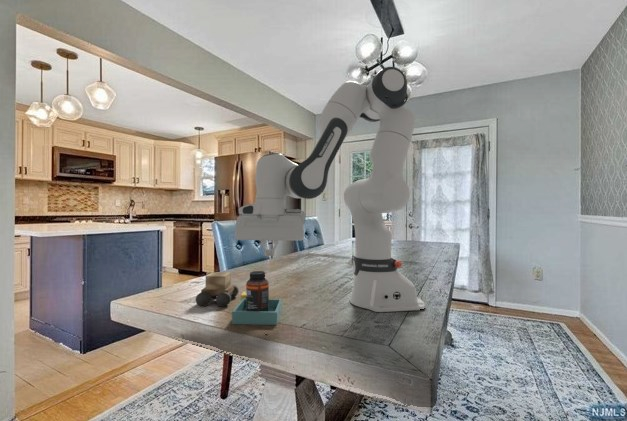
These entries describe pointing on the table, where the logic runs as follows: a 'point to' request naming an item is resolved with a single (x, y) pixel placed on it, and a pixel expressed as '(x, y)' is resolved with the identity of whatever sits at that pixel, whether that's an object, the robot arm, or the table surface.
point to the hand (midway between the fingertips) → (269, 255)
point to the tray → (257, 314)
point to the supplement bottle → (257, 292)
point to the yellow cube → (243, 295)
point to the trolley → (217, 289)
